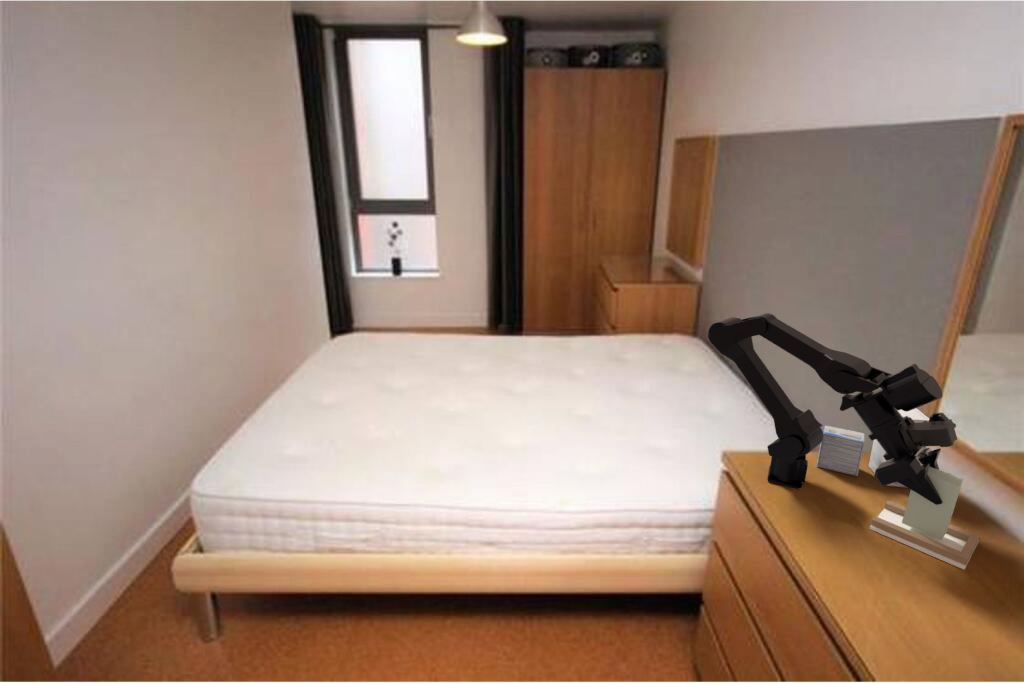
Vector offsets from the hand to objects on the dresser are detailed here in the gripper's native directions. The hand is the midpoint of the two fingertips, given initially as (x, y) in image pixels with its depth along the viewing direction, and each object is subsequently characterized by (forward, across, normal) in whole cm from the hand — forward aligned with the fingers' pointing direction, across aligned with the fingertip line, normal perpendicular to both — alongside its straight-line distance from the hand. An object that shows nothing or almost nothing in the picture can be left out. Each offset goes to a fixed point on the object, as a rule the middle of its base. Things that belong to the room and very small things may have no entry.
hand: (942, 499), depth 94 cm
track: (+5, 0, +7) cm, 8 cm away
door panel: (+4, 0, +6) cm, 7 cm away
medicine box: (-8, +13, +20) cm, 26 cm away
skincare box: (-2, +18, +14) cm, 23 cm away
